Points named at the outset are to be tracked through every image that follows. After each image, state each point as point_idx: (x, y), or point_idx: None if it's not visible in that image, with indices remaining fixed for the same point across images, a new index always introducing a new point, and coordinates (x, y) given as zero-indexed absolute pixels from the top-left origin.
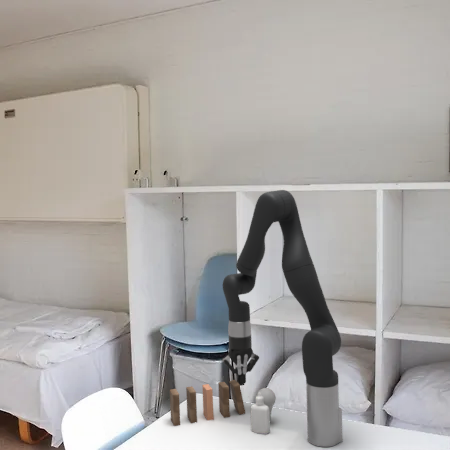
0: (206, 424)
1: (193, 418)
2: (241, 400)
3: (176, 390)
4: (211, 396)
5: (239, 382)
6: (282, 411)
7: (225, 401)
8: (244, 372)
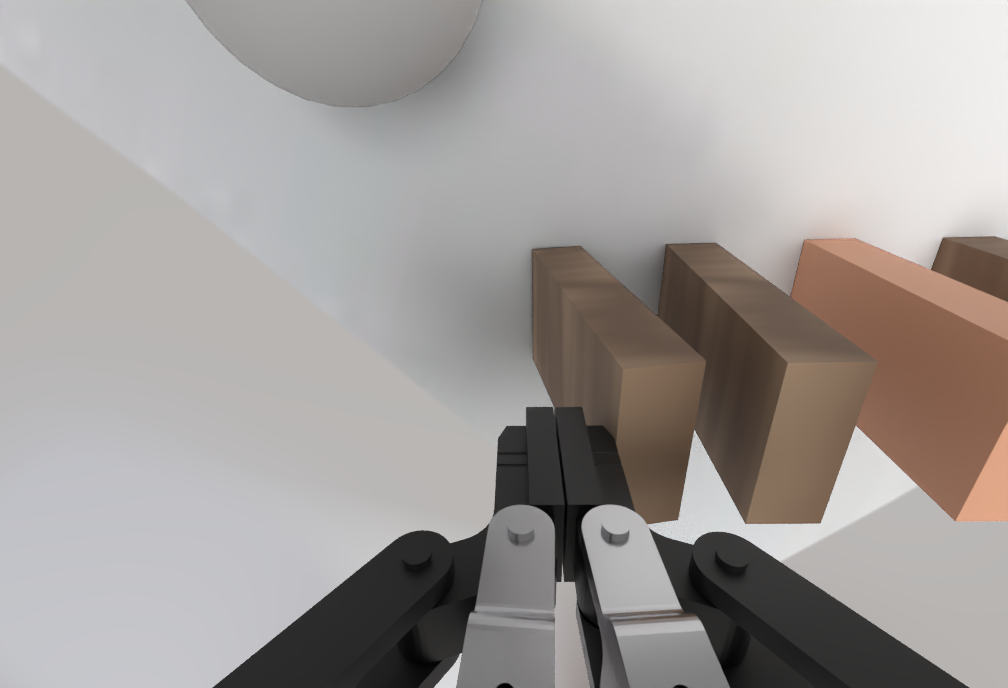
0: (905, 168)
1: (1004, 246)
2: (575, 287)
3: None
4: (974, 315)
5: (590, 437)
6: (226, 190)
7: (754, 289)
8: (527, 525)
